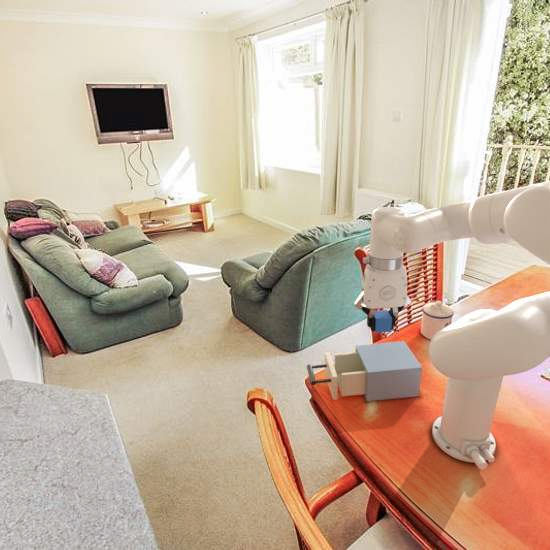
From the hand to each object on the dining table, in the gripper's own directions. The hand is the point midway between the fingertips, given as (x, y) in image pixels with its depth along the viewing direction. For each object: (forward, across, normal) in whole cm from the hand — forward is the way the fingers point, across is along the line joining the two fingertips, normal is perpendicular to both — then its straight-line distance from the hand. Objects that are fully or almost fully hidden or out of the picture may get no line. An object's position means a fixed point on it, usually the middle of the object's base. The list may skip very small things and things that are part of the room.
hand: (380, 327), depth 94 cm
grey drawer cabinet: (+17, +2, -1) cm, 18 cm away
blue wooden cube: (0, 0, 0) cm, 0 cm away
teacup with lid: (+18, +26, +22) cm, 38 cm away
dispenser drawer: (+17, -10, -1) cm, 19 cm away
